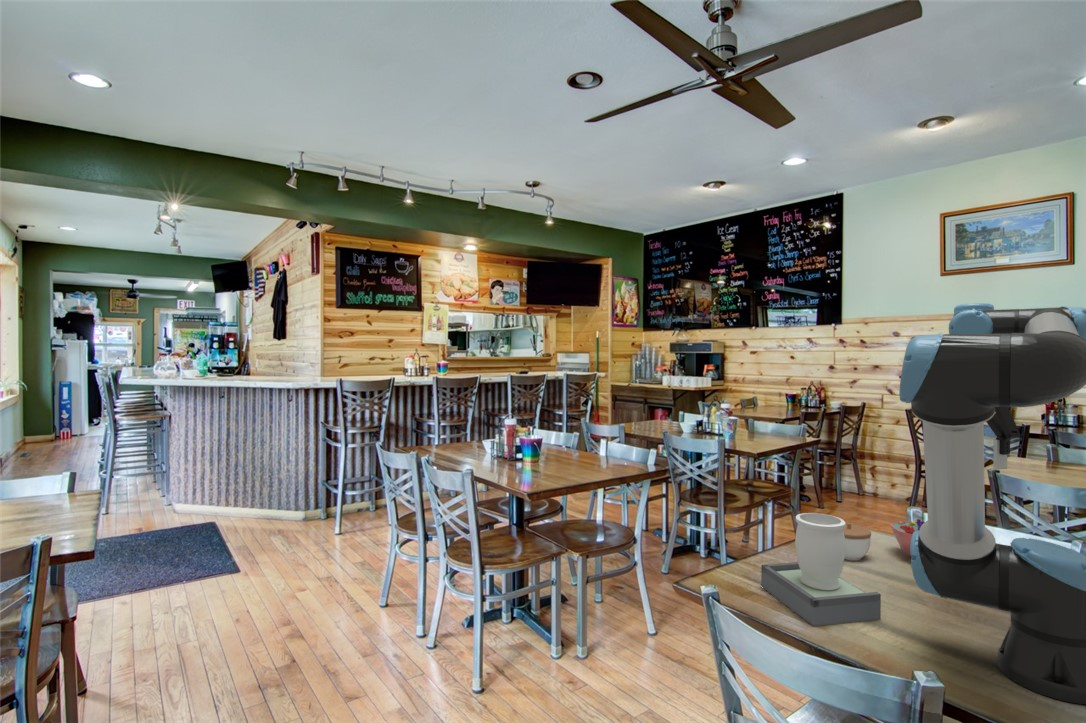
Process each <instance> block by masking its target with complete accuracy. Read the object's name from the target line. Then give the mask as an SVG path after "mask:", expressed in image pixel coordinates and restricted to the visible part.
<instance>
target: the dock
mask: <svg viewBox="0 0 1086 723" xmlns="http://www.w3.org/2000/svg"><path fill="white" fill-rule="evenodd" d="M760 570H761V571H760V572H761V573H760V576H761V584H760V585H761V586H762V587H763V588H764V591H766V590H767V591H768V592H767V591H766V592H767V593H769V594H770V593H771V594H772V595H771V594H770V595H771V596H773V597H774V598H775V597H776V598H775V599H776V600H778V601H779V602H781V603H782V604H783V605H785V606H786V607H787V608H788V609H790V610H792V611H793V612H794V613H795V614H796V615H798V616H799V617H800V618H802V619H804V620H805V622H807V623H808V624H810V625H811V626H813V627H818V626H819V627H820V626H827V625H839V624H848V623H859V622H868V621H869V622H870V621H878V620H881V617H882V616H881V614H882V612H881V608H882V606H881V605H882V604H881V601H882V598H881V597H882V594H881V593H880V592H878V591H871V592H866V591H864V590H862V589H861V588H859V587H857V586H855V585H854V584H852V583H850V582H848V581H847V580H845V579H843V578H841V576H840V577H839V578H838V581H839V582H840V587H839V588H838V589H835V590H819V589H815V588H811V587H809V586H806V585H805V584H803V583H802V582H801V580H800V577H801V575H802V572H801V570H800V568H799V564H798V561H794V562H782V563H781V562H780V563H767V564H761V569H760ZM762 587H761V588H762ZM763 588H762V589H763Z"/></svg>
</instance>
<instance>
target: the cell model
mask: <svg viewBox="0 0 1086 723" xmlns="http://www.w3.org/2000/svg"><path fill="white" fill-rule="evenodd" d="M925 522H926V521H922V520H921V519H918V518H917V519H916V521H915V520H910V521H909V520H900V521H895V522H892V523H890V528H891V530H892V532H893V535H894V537H895V539H896V542H897V543H898V545H899V548H900V549H901V551H903V553H905V554H906V555H908V556H910V557H911V553H910V545H911V538H912V534H913V533H914V532H915V531H918V530H920V527H921V526H922V524H923V523H925Z"/></svg>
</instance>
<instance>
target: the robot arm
mask: <svg viewBox="0 0 1086 723" xmlns="http://www.w3.org/2000/svg"><path fill="white" fill-rule="evenodd" d="M903 356H904V357H903V362H902V367H901V373H900V379H899V380H900V382H899V389H898V390H899V394H898V396H899V400H900V401H901V402H902V403H905V404H910V406H911V407H910V408H911V413H912V414H913V416H915V417H916V419H918V420H920V421H921V422H922V435H923V453H924V454H923V456H924V470H925V471H924V472H925V473H924V475H925V491H926V492H925V493H926V506H927V507H926V509H927V510H926V513H927V520H926V521H924V522H925V523H923V524H922V526H921V527H920V530H918V531H915V532H914V533H913V534H912V538H911V545H910V553H911V556H910V557H911V558H910V563H911V564H910V565H911V570H912V575H913V579H914V581H915V584H916V585H917V587H918V588H919V589H920V590H921V591H922V592H924V593H927V594H932V595H933V596H938V597H939V598H944V599H949V600H955V601H958V602H959V601H960V602H964V603H968V604H972V605H978V606H981V607H985V608H990V609H995V610H1000V611H1003V612H1008V613H1010V625H1009V627H1008V630H1007V632H1006V634H1005V636H1004V638H1003V640H1002V643H1001V645H1000V647H999V648H998V651H997V666H998V669H999V670H1000V671H1001V672H1002V673H1003V674H1004V675H1005V676H1006V677H1007V678H1009V679H1010V680H1012V681H1013V682H1014V683H1016V684H1018V685H1019V686H1022V687H1023V688H1026V689H1028V690H1031V691H1032V692H1035V693H1038V694H1041V695H1043V696H1046V697H1048V698H1052V699H1056V700H1060V701H1063V702H1068V703H1073V704H1080V705H1086V555H1084V554H1083V553H1081V552H1079V551H1076V550H1074V549H1072V548H1069V547H1066V546H1063V545H1060V544H1056V543H1054V542H1050V541H1046V540H1041V539H1037V538H1031V537H1030V538H1025V537H1015V538H1013V539H1012V541H1011V542H1010V545H1009V544H1008V545H1007V544H1001V543H997V542H996V538H995V535H994V534H993V532H992V531H991V530H990V529H989V528H988V527H986V506H985V502H986V499H985V498H986V497H985V496H986V495H985V489H986V488H985V424H984V423H987V425H988V426H989V428H990V429H991V431H992V432H993V434H994V435H995V439H993V470H1007V469H1008V456H1009V455H1010V453H1011V440H1013V439H1020V437H1021V433H1020V430H1019V428H1018V427H1017V424H1016V421H1015V420H1014V417H1013V415H1012V412H1011V410H1010V408H1029V407H1035V406H1036V407H1037V406H1043V405H1046V404H1049V403H1051V404H1052V403H1053V402H1057V401H1060V400H1063V399H1064V398H1067V397H1069V396H1071V395H1072V394H1075V393H1077V392H1078V391H1080V390H1081V389H1083V388H1084V387H1085V386H1086V308H1085V307H1081V306H1078V307H1077V306H1072V307H1071V306H1059V307H1043V308H1041V307H1040V308H1036V307H1035V308H1021V309H1020V308H1015V309H1014V308H1013V309H1011V308H1008V309H1005V308H1004V309H995V307H994V305H993V304H991V303H989V302H988V303H986V302H985V303H979V302H978V303H963V304H956V306H955V307H954V308H953V315H952V317H951V319H950V321H949V323H948V333H946V334H944V333H942V332H940V333H938V334H927V335H926V334H925V335H916V336H913V338H910V340H909V341H908V343H907V345H906V349H905V353H904V355H903Z"/></svg>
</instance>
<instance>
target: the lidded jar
mask: <svg viewBox="0 0 1086 723" xmlns="http://www.w3.org/2000/svg"><path fill="white" fill-rule="evenodd" d="M843 532H844V537H845V558H844V560H847V561H860V560H862V558H863V557H865V556H866V555H867V553H868V552H869V550H870V547H871V538H872V532H871V530H870V529H869V528H867V527H864V526H861V525H857V524H852V523H851V522H846V523H845V528H843Z"/></svg>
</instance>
